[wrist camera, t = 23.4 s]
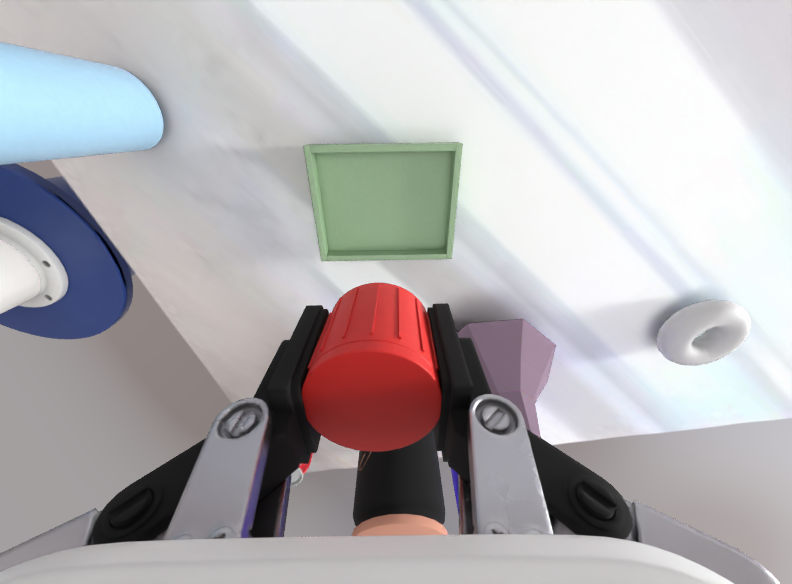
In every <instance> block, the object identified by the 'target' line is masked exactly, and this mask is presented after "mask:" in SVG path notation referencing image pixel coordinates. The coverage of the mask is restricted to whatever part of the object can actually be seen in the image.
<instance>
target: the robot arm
mask: <svg viewBox="0 0 792 584" xmlns="http://www.w3.org/2000/svg"><path fill="white" fill-rule="evenodd" d="M67 290H68V277H67V273H66V271H65V268H64V266H63V265H62V263H61V261H60V260H59V258H58V257H57V256H56V254H55V253H54V252H53V251H52V250H51V249H50V248H49V247H48V246H47V245H46V244H45V243H44V242H43V241H42V240H41V239H39V238H38V237H37V236H35V235H34V234H33V233H31V232H30V231H28V230H27V229H25V228H23V227H22V226H20V225H18V224H16V223H14V222H12V221H10V220H8V219H6V218H3V217H0V314H1V313H3V312H5V311H7V310H9V309H12V308H14V307H16V306H23V307H44V306H47V305H50V304H53V303H54V302H56V301H58V300H60V299H61V298H62V297H63V296H64V295H65V294H66V292H67ZM427 313H428V317H429V321H430V326H431V331H432V336H433V342H434V347H435V352H436V357H437V362H438V367H439V370H438V375H439V380H440V386H441V391H442V400H441V412H440V418H439V420H438V422H437V424H436V425H435V426H434V428H433V433H434V441H435V448H436V451H442V456H443V461H444V462H448V464H449V467H451V468H452V469H453V470H454V471H455V472H456V473H457V474H458V504H459V535H391V536H330V537H284V531H285V523H286V516H287V508H288V500H289V493H290V485H291V478H292V476H291V474H292V473H293V472H295V471H296V470H297V469H298V468H299V465H300V464H309V461H310V457H311V453H316V452H317V449H318V445H319V441H320V437H321V434H320V433H318V432H317V431H316V430H315V429H314V428H313V427H312V426H311V424H310V423H309V422H308V420H307V417H306V412H305V408H304V403H303V399H302V387H303V384H304V382H305V379H306V377H307V374H308V372H309V370H308V369H307V368H308V365H309V363H310V360H311V358H312V356H313V353H314V351H315V348H316V346H317V343H318V341H319V338H320V336H321V333H322V331H323V329H324V326H325V324H326V321H327V319H328V316H329V312H328V310H327V309H323V306H322V305H318V306H306V307H305V309H304V312H303V314H302V316H301V318H300V320H299V322H298V324H297V326H296V328H295V330H294V332H293V335H292V337H291V339H290V340H284V341H283V342H282V343H281V345H280V347H279V349H278V351H277V353H276V355H275V356H274V358H273V360H272V362H271V364H270V366H269V368H268V370H267V372H266V374H265V376H264V378H263V380H262V382H261V384H260V386H259V388H258V390H257V392H256V394H255V396H254V398H246V399H242V400H239V401H236V402H234V403H232V404H230V405H229V406H228V407H226V408H225V409H223V410H222V411H221V412H220V413H219V414H218V415H217V417H216V418H215V420H214V422H213V423H212V426H211V428H210V430H209V432H208V435H207V437H206V439H204V440H202V441H201V442H199V443H197V444H196V445H194V446H192V447H191V448H189V449H188V450H186V451H185V452H183V453H181V454H179V455H178V456H176V457H175V458H173V459H171V460H170V461H168V462H166V463H165V464H163V465H162V466H160V467H159V468H157V469H155V470H154V471H152V472H150V473H149V474H147V475H145V476H144V477H142V478H141V479H139V480H137V481H136V482H134V483H133V484H131V485H129V486H128V487H126V488H125V489H124V490H122V491H121V492H120V493H118V494H117V495H116V496H115V497H114V498H113V499H112V500H111V501H110V502H109V503H108V504H107V505H106V506H105V508H104V509H103V510H102V511H100V512H99V511H98V510H97V509H96V508H95V509H93V510H91V511H89V512H87V513H85V514H82V515H80V516H78V517H76V518H74V519H72V520H70V521H68V522H66V523H64V524H61V525H59V526H57V527H55V528H53V529H51V530H49V531H47V532H45V533H43V534H40V535H38V536H36V537H34V538H32V539H30V540H28V541H26V542H23V543H21V544H19V545H17V546H15V547H13V548H11V549H9V550H7V551H4V552H2V553H0V584H780V583H779V582H778V581H777V580H776V579H775V578H774V577H773V575H771V573H770V572H769V571H767V570H766V569H765V568H764V567H763V566H762V565H760V564H759V563H758V562H757V561H756V560H755V559H753V558H752V557H750V556H748V555H747V554H745V553H744V552H741V551H740V550H739V549H737V548H734V547H732V546H730V545H728V544H726V543H724V542H722V541H720V540H718V539H716V538H714V537H711V536H710V535H708V534H705V533H703V532H701V531H699V530H697V529H695V528H693V527H691V526H689V525H687V524H684V523H682V522H680V521H678V520H676V519H674V518H672V517H670V516H668V515H666V514H663V513H661V512H659V511H657V510H655V509H653V508H651V507H649V506H647V505H645V504H643V503H641V502H638V501H636V500H635V501H634V502H633V503H631V502H628V501H626V500H624V499H623V497H622V496H621V495H620V494H619V492H618V491H617V490H616V489H615V488H614V487H613V486H612V485H611V484H609V483H608V482H607V481H606V480H604V479H603V478H602V477H600V476H599V475H597V474H595V473H594V472H592V471H591V470H589V469H588V468H586V467H585V466H583V465H581V464H580V463H579V462H577V461H575V460H574V459H572V458H571V457H569V456H568V455H566V454H565V453H563V452H562V451H560V450H558V449H557V448H555V447H554V446H552V445H551V444H549V443H548V442H546V441H545V440H543V439H541V438H540V437H538V436H537V435H535V434H534V433H532V432H531V431H529V430H528V429H526V425H525V421H524V418H523V416H522V413H521V411H520V410H519V409H518V408H517V407H516V405H514V404H513V403H512V402H511V401H509V400H508V399H506V398H503V397H501V396H498V395H493V394H492V393H491V390H490V387H489V385H488V382H487V379H486V377H485V374H484V371H483V368H482V366H481V363H480V360H479V357H478V355H477V352H476V349H475V347H474V344H473V341H472V339H471V338H470V337H466V338H459V337H458V334H457V331H456V327H455V324H454V321H453V318H452V314H451V311H450V308H449V305H448V304H433V308H428V310H427Z"/></svg>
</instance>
